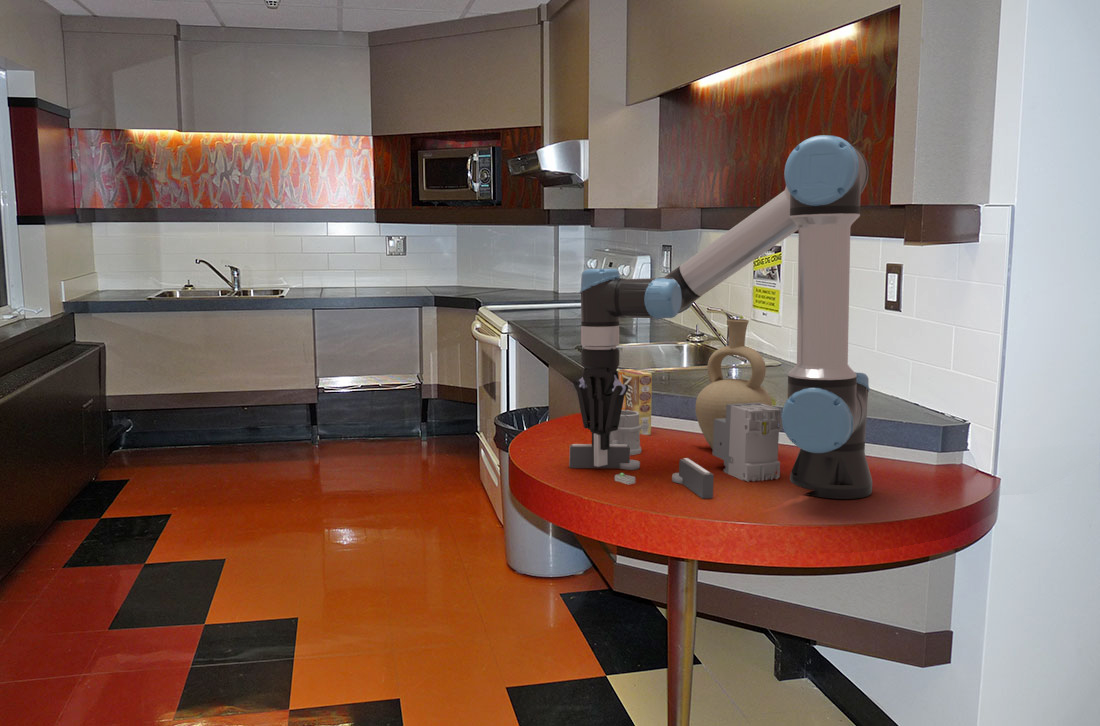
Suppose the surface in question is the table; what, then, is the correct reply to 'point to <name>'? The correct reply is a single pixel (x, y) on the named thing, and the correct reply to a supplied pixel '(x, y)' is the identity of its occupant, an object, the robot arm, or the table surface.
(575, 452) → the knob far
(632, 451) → the mug
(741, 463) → the circuit breaker
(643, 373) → the candy box
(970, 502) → the table surface
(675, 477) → the grey bar piece
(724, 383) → the vase
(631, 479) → the base plate
